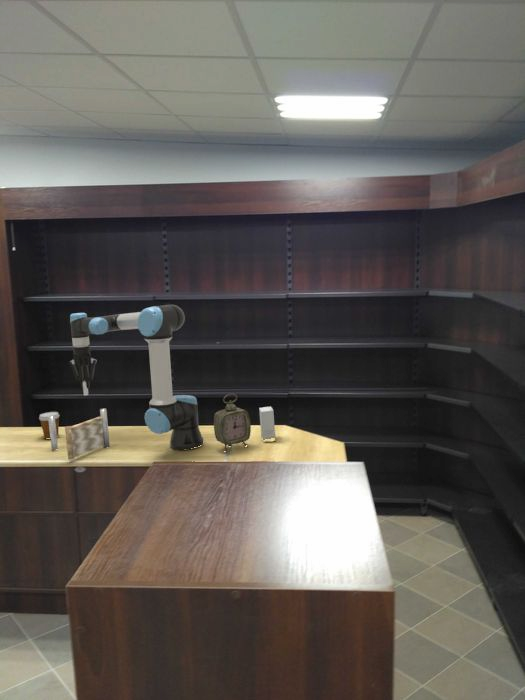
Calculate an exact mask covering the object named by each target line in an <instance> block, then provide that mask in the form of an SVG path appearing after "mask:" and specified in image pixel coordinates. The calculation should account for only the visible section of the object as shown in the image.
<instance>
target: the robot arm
mask: <svg viewBox="0 0 525 700" xmlns="http://www.w3.org/2000/svg"><path fill="white" fill-rule="evenodd" d="M185 319H186V317H185V313H184V311H183V309H182V307H181V308H180V307H179V306H178V305H175V304H164V305H163V304H162V305H155V306H150V307H146V308H143V309H142V310H141V311H137V312H128V313H118V314H117V313H116V314H110V315H104V316H96V317H88V314H87V313H85V312H77V313H76V312H75V313H71V314H70V315H69V323H70V331H71V340H72V346H73V347H72V351H73V357H72V360H70V361H68V364H69V366H70V368H71V370H72V372H73V376H74V378H75V381H77V382H79V383H80V389H82V391H83V396H89V389H90V387H91V386H90V384H91V383H90V381H92V380H93V379H94V376H95V369H96V368H95V367H96V365H97V362H98V360H97V358H96V359H95V358H93V357H92V355H91V347H90V335H104V334H105V333H109V332H116V331H124V330H125V331H127V330H138V331H139V333H140V334H141V335H142V336H143V339H144V341H146V342H147V343H148V354H149V356H148V357H149V369H150V381H151V382H150V383H151V394H152V395H151V396H152V398H151V399H150V401H149V403H148V404H149V405H148V406H149V408H148V409H147V410H146V412H145V413H144V422H145V424H146V426H147V428H148V429H149V430H150V431H151V432H153V434H157V435H163V434H164V433H165V434H166V433H169V432H170V431H172V433H171V436H170V437H171V438H170V440H169V445H170V448H171V449H172V450H175V451H185V450H184V449H191V448H194V447H198V446H200V445H202V444H203V442H204V437H203V435H202V433H201V430H200V427H199V425H200V424H199V411H198V401H197V398H196V396H194V395H190V394H189V395H188V394H187V395H186V394H180V395H179V394H177V395H173V383H172V382H173V380H172V367H171V366H172V365H171V351H170V349H171V348H170V341H171V340H172V339H173V332H175V331H178V330H179V329H181V328H182V327H183V325H184V324H185V321H186V320H185ZM90 363H91V365H90V369H89V364H90ZM77 368H78V369H77ZM89 370H90V371H89ZM84 378H85V379H84ZM203 445H204V444H203ZM203 445H202V446H203Z"/></svg>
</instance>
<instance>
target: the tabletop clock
mask: <svg viewBox="0 0 525 700" xmlns="http://www.w3.org/2000/svg"><path fill="white" fill-rule="evenodd" d="M229 396H234V397H235V399H233V400H232V399H230V400H229V401H225V399H226V398H227V397H229ZM237 400H238V395H237V394H235V393H228V394H226V395H225V396H224V397H223V399H222V401H223V403H224V404H226V406H225V408H224V409H221V410H218V411H217V412H215V413H214V415H213V432H214V436H215V439H216V441H218V442H219V443H222V444H224V449H223V451H227V452H228V450H227V446H228V447H229V446H232V447H233V445H238V444H242V443H243V445H245V446H246V445H248V444H247V443H245V442H246V441H248V440H249V439H250V436H251V431H252V429H251V428H252V427H251V426H252V425H251V423H252V422H251V416H250V413H249V411H247V410H245V409H242V408H240V407H237V405H236V404H234V403H235V402H236V401H237ZM223 451H222V452H223Z"/></svg>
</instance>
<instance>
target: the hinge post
mask: <svg viewBox="0 0 525 700" xmlns="http://www.w3.org/2000/svg"><path fill="white" fill-rule="evenodd" d="M99 413H100V415H99V417H102V429H103V439H104V446H102V447H103V449H108V448H110V447H111V445H110V437H109V436H110V434H109V433H110V432H109V424H108V411H107V408H105V407H104V408H100V409H99ZM107 447H108V448H107Z"/></svg>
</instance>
